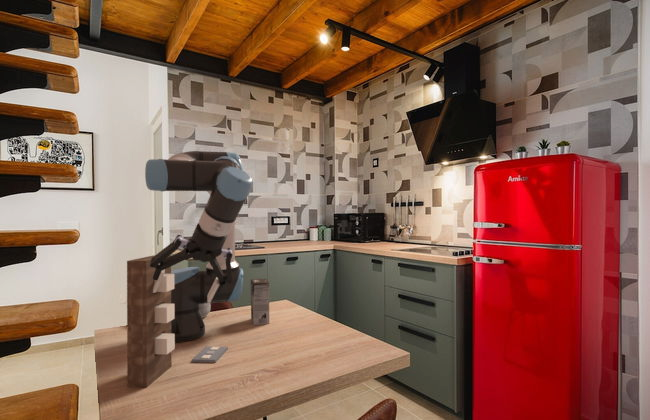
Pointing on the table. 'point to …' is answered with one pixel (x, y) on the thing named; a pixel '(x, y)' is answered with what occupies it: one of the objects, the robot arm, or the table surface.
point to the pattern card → (210, 354)
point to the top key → (166, 283)
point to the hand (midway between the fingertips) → (182, 294)
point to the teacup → (205, 309)
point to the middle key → (164, 313)
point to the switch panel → (144, 324)
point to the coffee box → (259, 301)
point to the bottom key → (164, 343)
